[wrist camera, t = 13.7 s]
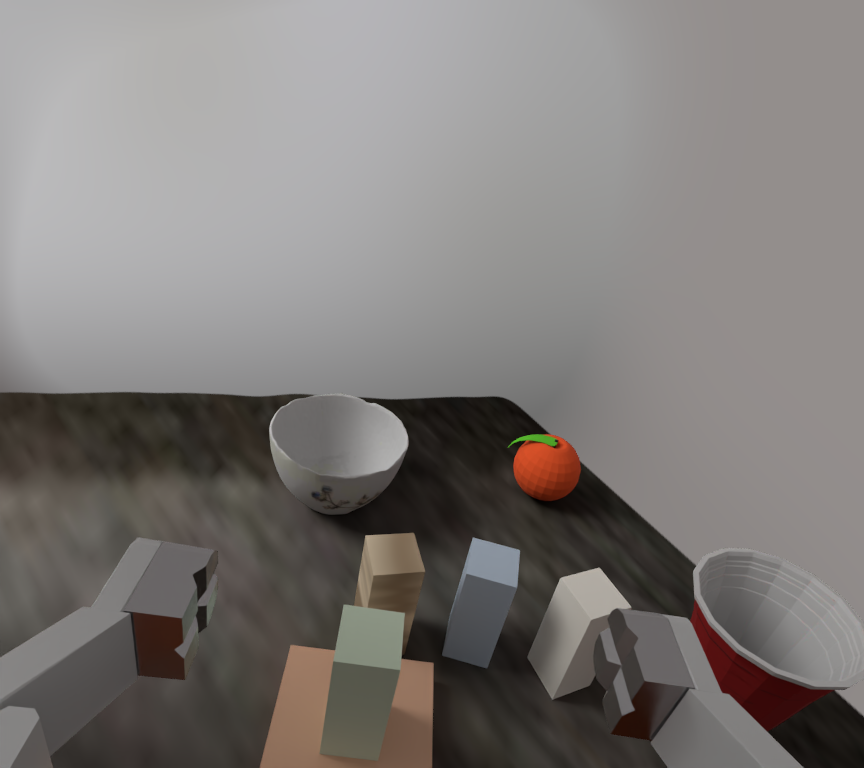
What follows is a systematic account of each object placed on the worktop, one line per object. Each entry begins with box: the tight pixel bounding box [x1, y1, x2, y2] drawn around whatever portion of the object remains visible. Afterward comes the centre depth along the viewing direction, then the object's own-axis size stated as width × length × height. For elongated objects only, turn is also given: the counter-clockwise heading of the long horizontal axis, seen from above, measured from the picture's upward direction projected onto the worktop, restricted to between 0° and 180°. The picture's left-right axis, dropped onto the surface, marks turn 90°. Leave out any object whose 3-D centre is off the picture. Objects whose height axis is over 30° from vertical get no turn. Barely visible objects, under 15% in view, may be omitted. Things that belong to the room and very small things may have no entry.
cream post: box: [527, 568, 631, 700], centre depth 42 cm, size 4×4×9 cm
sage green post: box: [319, 605, 405, 761], centre depth 33 cm, size 4×4×9 cm
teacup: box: [269, 393, 409, 515], centre depth 55 cm, size 15×12×8 cm
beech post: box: [354, 533, 425, 655], centre depth 41 cm, size 4×4×9 cm
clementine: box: [508, 435, 581, 501], centre depth 60 cm, size 8×7×7 cm
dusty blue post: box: [442, 538, 520, 669], centre depth 42 cm, size 4×4×9 cm
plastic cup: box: [690, 548, 864, 732], centre depth 40 cm, size 11×11×12 cm
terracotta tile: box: [260, 645, 434, 768], centre depth 36 cm, size 10×10×2 cm
